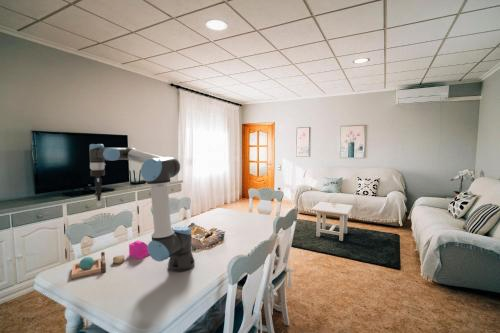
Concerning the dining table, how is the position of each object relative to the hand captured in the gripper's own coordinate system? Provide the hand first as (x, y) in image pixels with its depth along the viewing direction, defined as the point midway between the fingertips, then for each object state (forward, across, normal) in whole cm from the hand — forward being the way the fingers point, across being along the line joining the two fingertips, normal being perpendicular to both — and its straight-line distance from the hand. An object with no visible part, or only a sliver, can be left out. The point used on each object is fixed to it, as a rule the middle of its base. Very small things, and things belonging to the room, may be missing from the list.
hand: (98, 203), depth 149 cm
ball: (+31, -14, +7) cm, 34 cm away
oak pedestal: (+35, -12, -9) cm, 38 cm away
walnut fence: (+35, -13, -1) cm, 37 cm away
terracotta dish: (+35, -14, +7) cm, 38 cm away
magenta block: (+35, -7, -23) cm, 43 cm away
